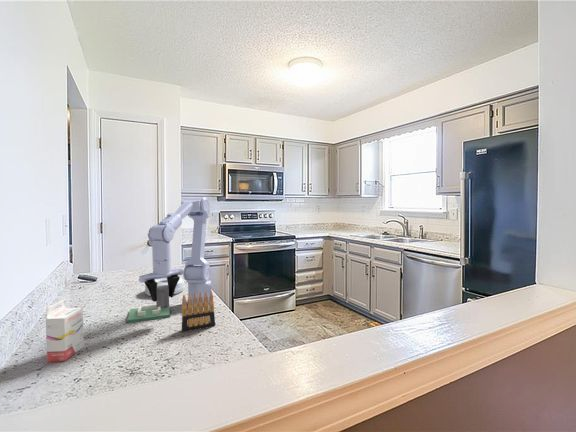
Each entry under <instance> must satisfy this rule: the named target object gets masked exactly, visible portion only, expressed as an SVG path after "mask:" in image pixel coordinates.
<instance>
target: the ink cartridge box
mask: <svg viewBox="0 0 576 432" xmlns="http://www.w3.org/2000/svg"><path fill="white" fill-rule="evenodd" d="M67 301H68V300H67V298H64V299H62V300H59V301H58V302H56V303H55V302H54V303H53V304H52V305H50V306H47V307H46V312H45V313H46V315H45V336H46V339H45V340H46V361H47V363H51V362H66V361H67V360H68V359H70V358H71V357H72V356H74V355H75V354H76V353H78V352H79V351H80V350H82V349H83V348H84V317H83V315H84V312H83V311H84V310H83V309H84V308H83V307H76V308H75V307H74V308H73V307H71V308H70V307H69V308H67ZM56 307H58V308H56ZM55 308H56V309H55Z"/></svg>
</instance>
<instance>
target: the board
mask: <svg viewBox="0 0 576 432" xmlns="http://www.w3.org/2000/svg"><path fill="white" fill-rule="evenodd" d="M170 317H171V316H170V304H169V305H168V306H165V307H161V306H160V307H156V303H153V304H146V305H140V306H139V305H138V307H137V308H131V309H129V313H128V315H127V319H126V324H131V323H137V322H139V323H140V322H144V321H145V322H146V321H151V320H158V319H159V320H160V319H166V318H170Z"/></svg>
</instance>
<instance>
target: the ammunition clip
mask: <svg viewBox="0 0 576 432" xmlns="http://www.w3.org/2000/svg"><path fill="white" fill-rule="evenodd" d="M212 291H213V290H212ZM212 291H211V292H210V299H209V304H208V296H207V292H205V295H204V304H203V301H202V294H201V292H200V294H199V304H197V296H196V293H195V294H194V298H193V306H192V299H191V295H190V294H189V296H188V297H186V295H185V294H183V295H182V303H181V304H182V305H181V332H182V333H184V332H189V330H191V331H196V330H201V329H200V328H202V329H207V328H206V327H208V328H213V327H215V326H216V321H215V320H216V318H215V317H216V316H215V302H214V293H213V292H212ZM186 298H187V299H186ZM187 300H188V303H187ZM212 326H213V327H212ZM195 329H196V330H195Z"/></svg>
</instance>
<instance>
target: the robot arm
mask: <svg viewBox="0 0 576 432" xmlns="http://www.w3.org/2000/svg"><path fill="white" fill-rule="evenodd" d="M180 204H181V205H180V206H179V207H178V208H177V210H176V211H175V212H171V213H167V214H166V217H165V218H163V219H162V220H161V221H160V222H159V223H158V224H153V225H152V226H151V227H149V230H148V233H147V237H148V240H149V244H150V247H151V249H152V252H151V253H152V272H148V273H146V274H143V275H142V274H141V275H139V276H138V281H139V283H141V284H143V283H144V284H146V286H147V288H148V290H149V292H150V295H151V296H150V298H151V301H152V302H154V303H155V302H156V301H157V293H156V291H157V284H158V283H157V282H155V279H160V278H166V277H167V281H168V285H169V298H174V295H175V294H174V291H175V288H176V285H177V283H178V281H179V279H180V277H181V276H182V278H183V279H184V280H185V282H186V283H187V291H188V292H187V295H188V296H189V294H190V295H191V299H192V307H193V298H194V294H195V293H196V296H197V304H199V294H200V292H201V294H202V301H203V305H204V295H205V292H207V296H208V304H209V299H210V292H211V291H213V290H212V281H211V280H209V278H210V277H211V270H210V269H211V268H210V267H211V266H210V262H208V261H207V260H206V259H205V245H206V244H205V243H206V231H207V219H208V218H209V217H210V210H211V209H210V208H211V204H210V201H209V199H208V198H207V197H184V198H183V199H182V200H181V203H180ZM187 216H188V217H189V218H190V219H192V220H193V230H192V239H191V240H192V243H191V255H190V256H191V257H190V259H188V260H187V261H186V262H185V263H184V264H185V265H184V269H183V268H174V269H172V263H171V261H172V260H171V241H173V239H174V235H175V233H176V230H178V229H179V228H180V227H181V225H182V223H183V219H185V218H186V217H187ZM186 304H188V299H186Z"/></svg>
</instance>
